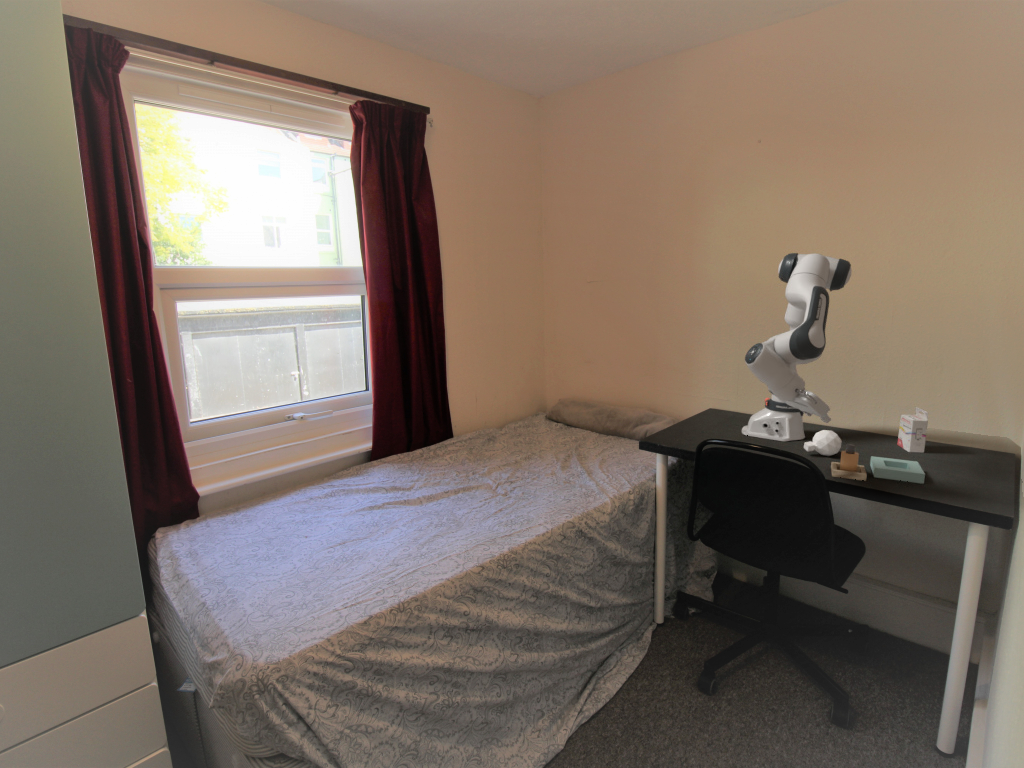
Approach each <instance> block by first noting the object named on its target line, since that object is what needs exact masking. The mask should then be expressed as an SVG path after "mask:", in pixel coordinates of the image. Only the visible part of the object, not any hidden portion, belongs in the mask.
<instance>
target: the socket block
mask: <svg viewBox="0 0 1024 768" xmlns="http://www.w3.org/2000/svg"><path fill="white" fill-rule="evenodd" d="M869 465H870V469H871V471H872V475H873V478H878V479H885V480H894V481H900V480H901V482H907V481H908V482H909V483H915V484H916V483H917V484H924V483H925V478H926V477H925V476H926V473H925V472H924V470H923V468H922V467H921V464H920V463H919V462H918V461H916V460H907V459H899V458H892V457H891V458H889V457H881V456H873V455H872V456H870V461H869Z"/></svg>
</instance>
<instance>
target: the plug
mask: <svg viewBox="0 0 1024 768" xmlns="http://www.w3.org/2000/svg"><path fill="white" fill-rule="evenodd" d="M859 455H860V454H859V453H858V452H857V451H856V444H853V443H846V445H845V450H841V453H840V461H839V463H840V470H843V471H851V472H857V467H858V465H859V457H860V456H859Z"/></svg>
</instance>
